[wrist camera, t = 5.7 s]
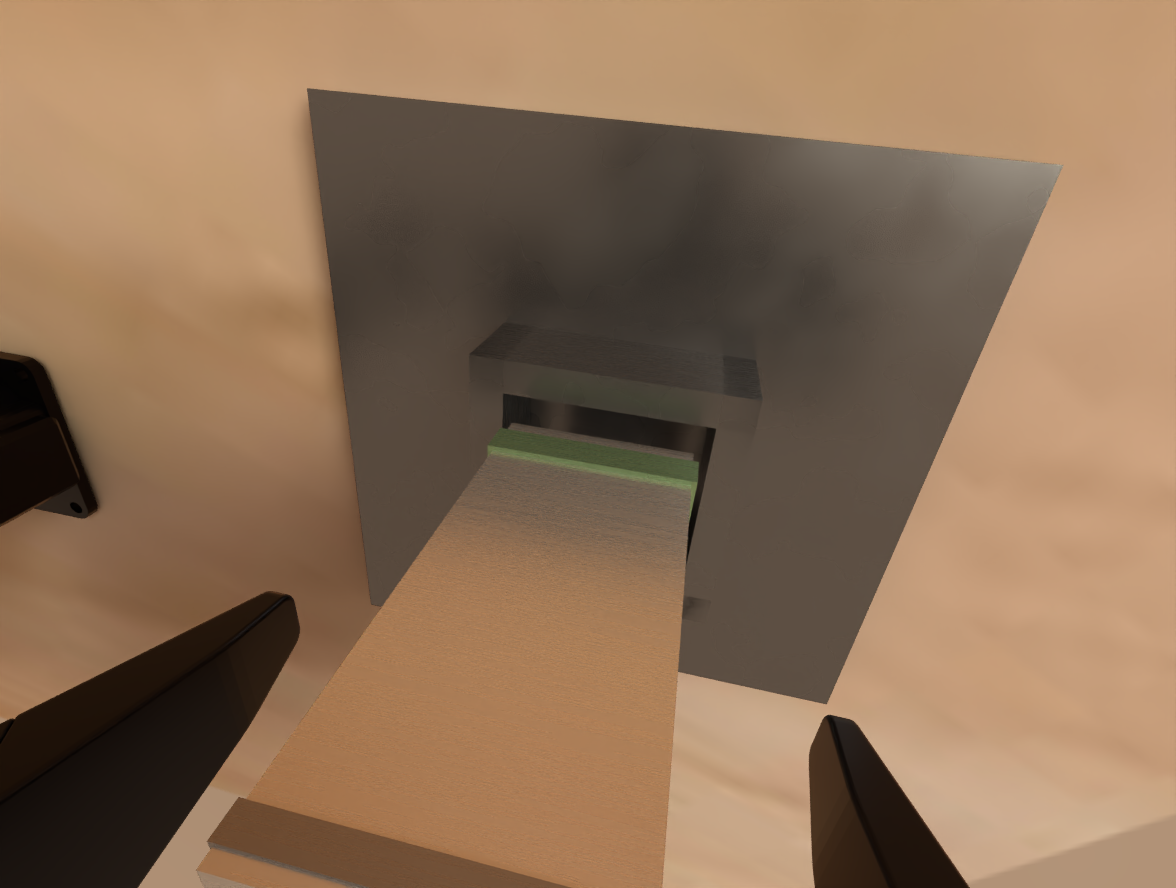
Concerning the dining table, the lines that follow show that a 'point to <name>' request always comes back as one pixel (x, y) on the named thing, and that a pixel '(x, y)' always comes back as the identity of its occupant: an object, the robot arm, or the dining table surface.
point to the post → (497, 694)
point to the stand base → (668, 337)
